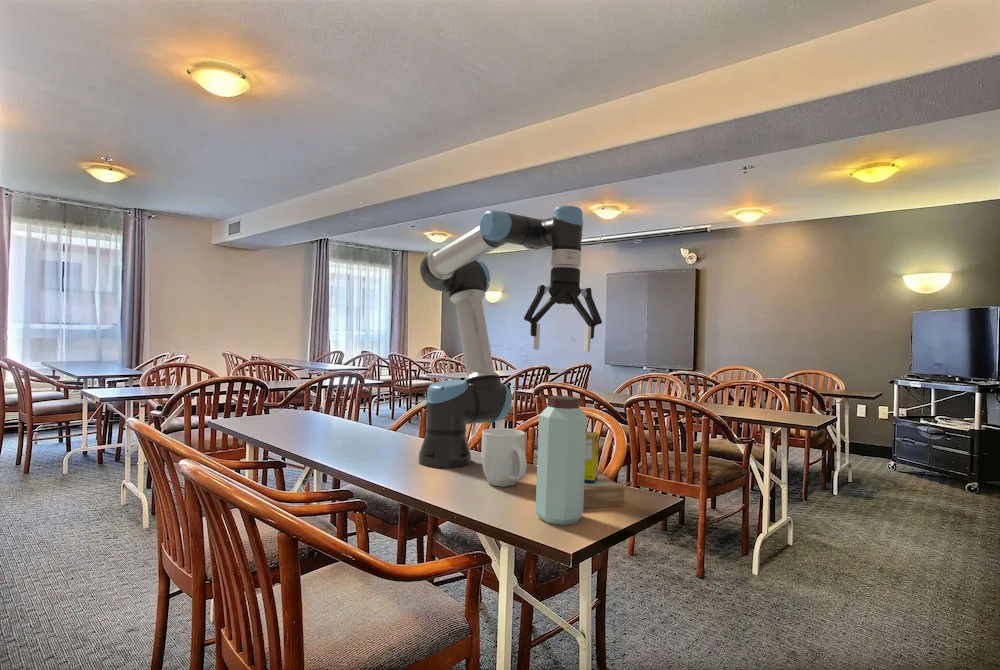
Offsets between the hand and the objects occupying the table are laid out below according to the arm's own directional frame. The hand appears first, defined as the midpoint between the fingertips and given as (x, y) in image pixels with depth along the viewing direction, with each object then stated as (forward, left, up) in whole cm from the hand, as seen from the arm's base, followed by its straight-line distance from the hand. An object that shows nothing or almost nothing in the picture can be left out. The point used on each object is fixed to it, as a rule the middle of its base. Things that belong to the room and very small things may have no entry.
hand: (561, 350), depth 142 cm
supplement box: (+13, +2, -30) cm, 33 cm away
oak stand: (+13, +2, -34) cm, 37 cm away
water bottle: (+26, -8, -34) cm, 44 cm away
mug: (0, -14, -34) cm, 37 cm away
